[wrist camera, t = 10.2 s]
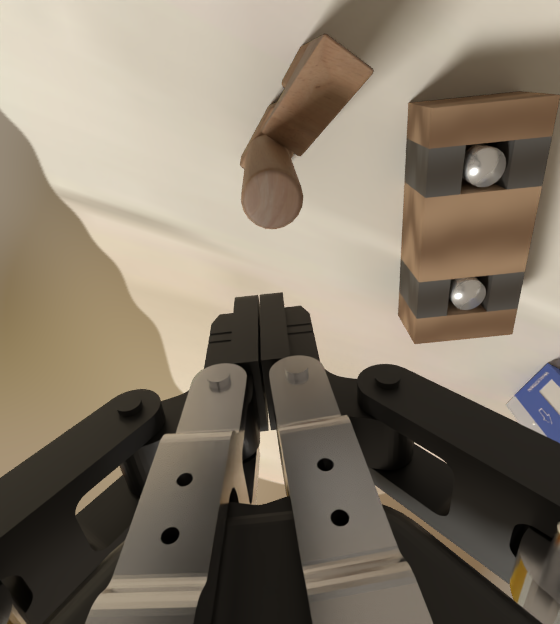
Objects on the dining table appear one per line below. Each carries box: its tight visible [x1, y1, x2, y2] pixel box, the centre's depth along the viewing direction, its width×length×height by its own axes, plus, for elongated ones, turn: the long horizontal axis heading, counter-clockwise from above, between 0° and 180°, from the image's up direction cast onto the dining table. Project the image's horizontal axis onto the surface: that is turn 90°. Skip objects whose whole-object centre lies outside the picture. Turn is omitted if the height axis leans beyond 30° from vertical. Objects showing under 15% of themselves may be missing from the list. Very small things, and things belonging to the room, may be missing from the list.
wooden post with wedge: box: [240, 34, 374, 229], centre depth 31 cm, size 4×11×18 cm, turn 149°
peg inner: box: [462, 143, 506, 187], centre depth 39 cm, size 3×3×6 cm
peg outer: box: [449, 277, 486, 310], centre depth 45 cm, size 3×3×6 cm
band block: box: [398, 91, 560, 344], centre depth 42 cm, size 22×10×6 cm, turn 5°
